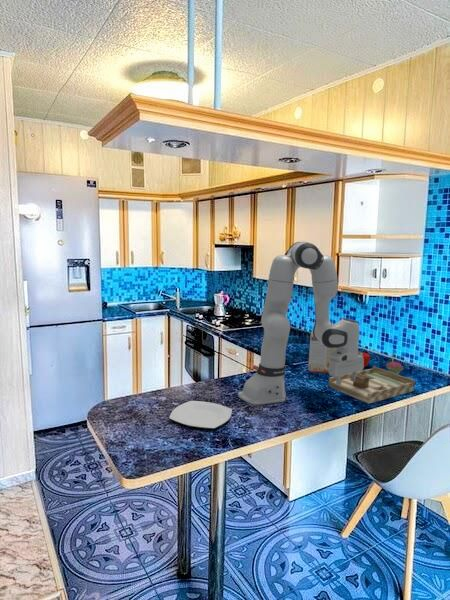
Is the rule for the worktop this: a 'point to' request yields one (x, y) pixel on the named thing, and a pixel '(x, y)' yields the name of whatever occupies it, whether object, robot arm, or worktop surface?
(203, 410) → the plate
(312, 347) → the cracker box
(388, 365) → the cupcake
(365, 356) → the apple
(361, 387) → the walnut block
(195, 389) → the worktop surface
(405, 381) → the trap deck
